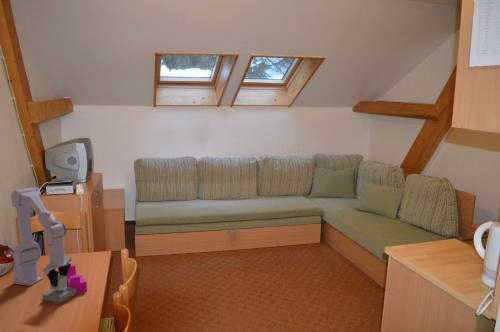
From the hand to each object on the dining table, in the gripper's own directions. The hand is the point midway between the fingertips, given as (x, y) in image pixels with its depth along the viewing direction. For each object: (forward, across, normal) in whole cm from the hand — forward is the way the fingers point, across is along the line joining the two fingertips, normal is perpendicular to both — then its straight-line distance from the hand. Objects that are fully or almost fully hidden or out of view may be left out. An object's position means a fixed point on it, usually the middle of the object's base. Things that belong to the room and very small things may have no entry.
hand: (58, 283), depth 166 cm
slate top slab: (+5, 0, 0) cm, 5 cm away
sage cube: (+2, 0, 0) cm, 2 cm away
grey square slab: (+7, 0, 0) cm, 7 cm away
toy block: (+7, +12, +1) cm, 13 cm away
